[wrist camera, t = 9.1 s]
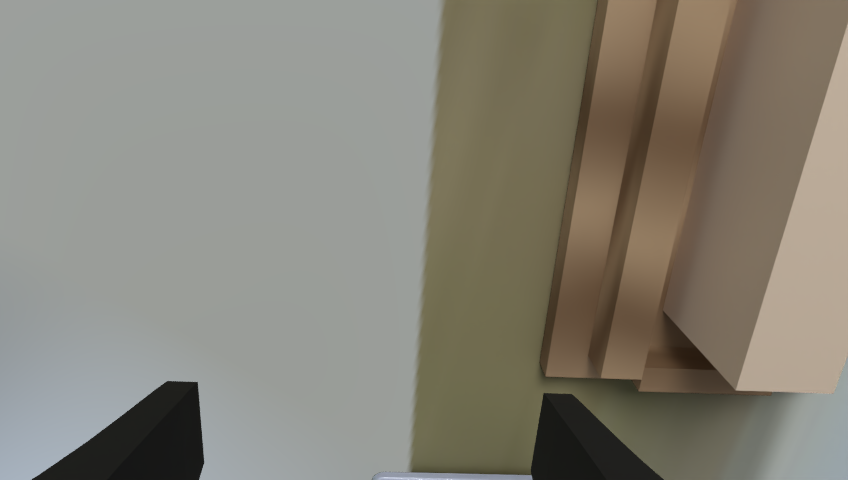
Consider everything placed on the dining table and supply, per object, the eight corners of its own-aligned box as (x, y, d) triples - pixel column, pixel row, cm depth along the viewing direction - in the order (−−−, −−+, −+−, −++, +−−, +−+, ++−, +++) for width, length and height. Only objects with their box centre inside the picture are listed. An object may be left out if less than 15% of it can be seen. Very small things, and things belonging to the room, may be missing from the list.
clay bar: (740, 313, 22) (833, 393, 17) (662, 310, 22) (735, 390, 17) (843, -39, 18) (1003, -60, 13) (748, -48, 17) (876, -71, 13)
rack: (800, 371, 24) (843, 409, 22) (539, 362, 23) (555, 400, 21) (976, -132, 18) (1063, -155, 16) (624, -166, 17) (661, -195, 15)
